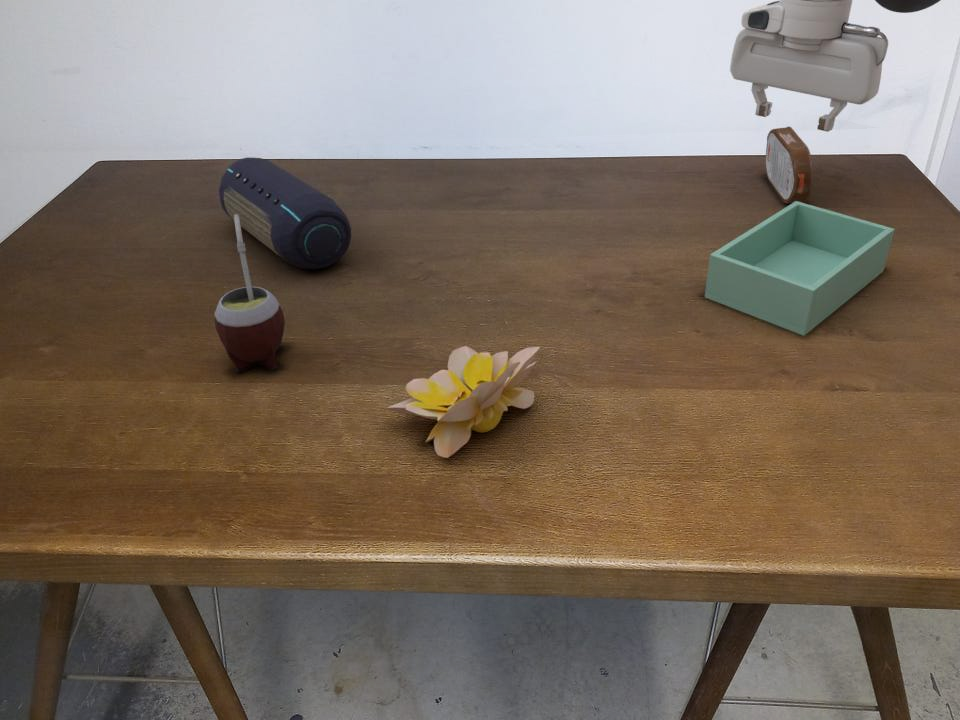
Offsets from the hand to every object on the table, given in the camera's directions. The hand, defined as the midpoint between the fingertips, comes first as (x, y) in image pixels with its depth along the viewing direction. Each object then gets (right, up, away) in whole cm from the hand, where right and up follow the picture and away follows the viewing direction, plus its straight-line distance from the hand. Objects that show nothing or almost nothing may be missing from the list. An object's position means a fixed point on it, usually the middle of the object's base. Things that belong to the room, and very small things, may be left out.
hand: (792, 122), depth 115 cm
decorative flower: (-45, -39, -35) cm, 69 cm away
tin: (+1, -9, +6) cm, 11 cm away
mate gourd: (-68, -33, -25) cm, 80 cm away
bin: (-6, -24, -17) cm, 30 cm away
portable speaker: (-71, -17, -1) cm, 73 cm away
